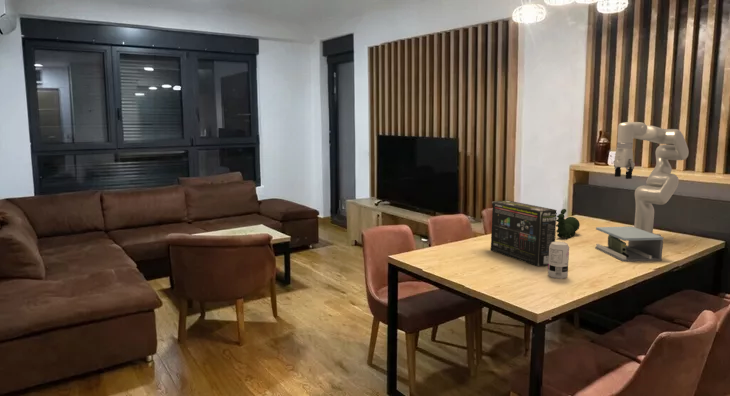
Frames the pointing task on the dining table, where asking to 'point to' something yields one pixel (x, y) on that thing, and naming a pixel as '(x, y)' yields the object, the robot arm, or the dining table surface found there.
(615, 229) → the cover
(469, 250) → the dining table surface
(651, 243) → the grey sloped stand
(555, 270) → the supplement can
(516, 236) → the router box
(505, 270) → the dining table surface
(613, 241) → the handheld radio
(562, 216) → the toy figurine
